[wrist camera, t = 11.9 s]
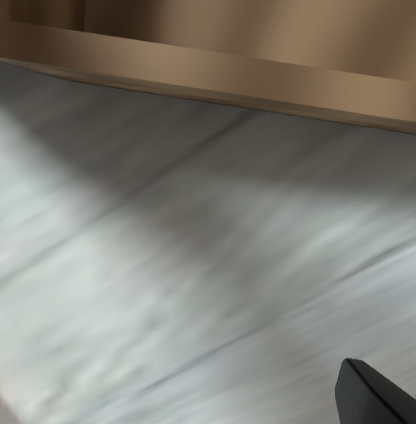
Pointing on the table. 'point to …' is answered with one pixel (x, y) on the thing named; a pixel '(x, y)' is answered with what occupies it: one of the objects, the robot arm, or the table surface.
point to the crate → (231, 52)
